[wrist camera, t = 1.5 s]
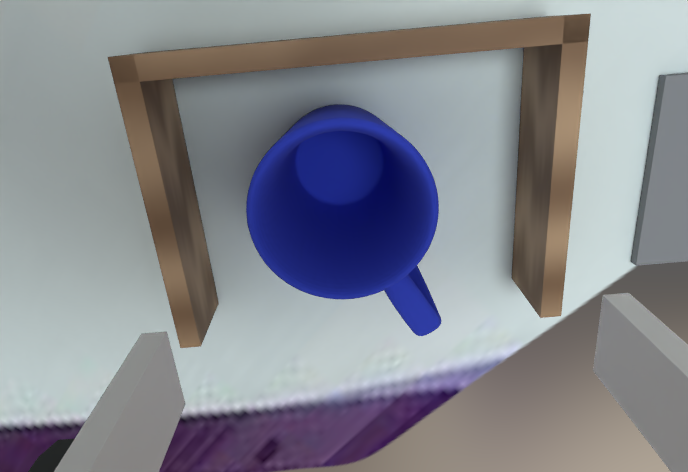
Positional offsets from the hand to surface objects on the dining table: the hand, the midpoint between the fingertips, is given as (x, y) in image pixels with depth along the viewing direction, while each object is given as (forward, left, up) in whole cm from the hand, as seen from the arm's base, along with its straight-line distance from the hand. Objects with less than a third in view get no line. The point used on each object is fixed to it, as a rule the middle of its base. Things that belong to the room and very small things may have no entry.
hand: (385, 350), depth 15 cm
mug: (0, 0, -17) cm, 17 cm away
